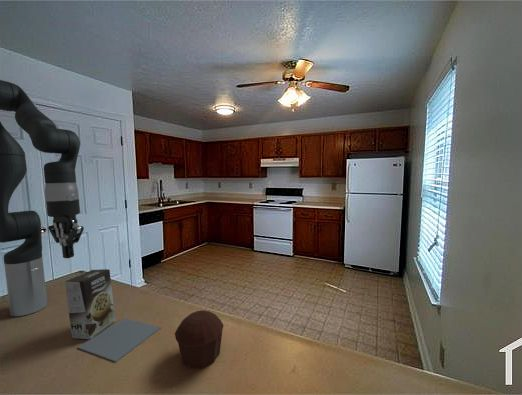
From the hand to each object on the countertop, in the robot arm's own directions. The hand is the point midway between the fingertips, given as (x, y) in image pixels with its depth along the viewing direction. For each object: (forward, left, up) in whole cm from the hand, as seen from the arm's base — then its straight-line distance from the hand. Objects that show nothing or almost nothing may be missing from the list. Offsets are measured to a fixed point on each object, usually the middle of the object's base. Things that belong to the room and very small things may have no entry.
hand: (68, 257), depth 74 cm
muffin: (+44, +2, -21) cm, 49 cm away
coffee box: (+9, 0, -20) cm, 22 cm away
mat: (+19, 0, -20) cm, 28 cm away
